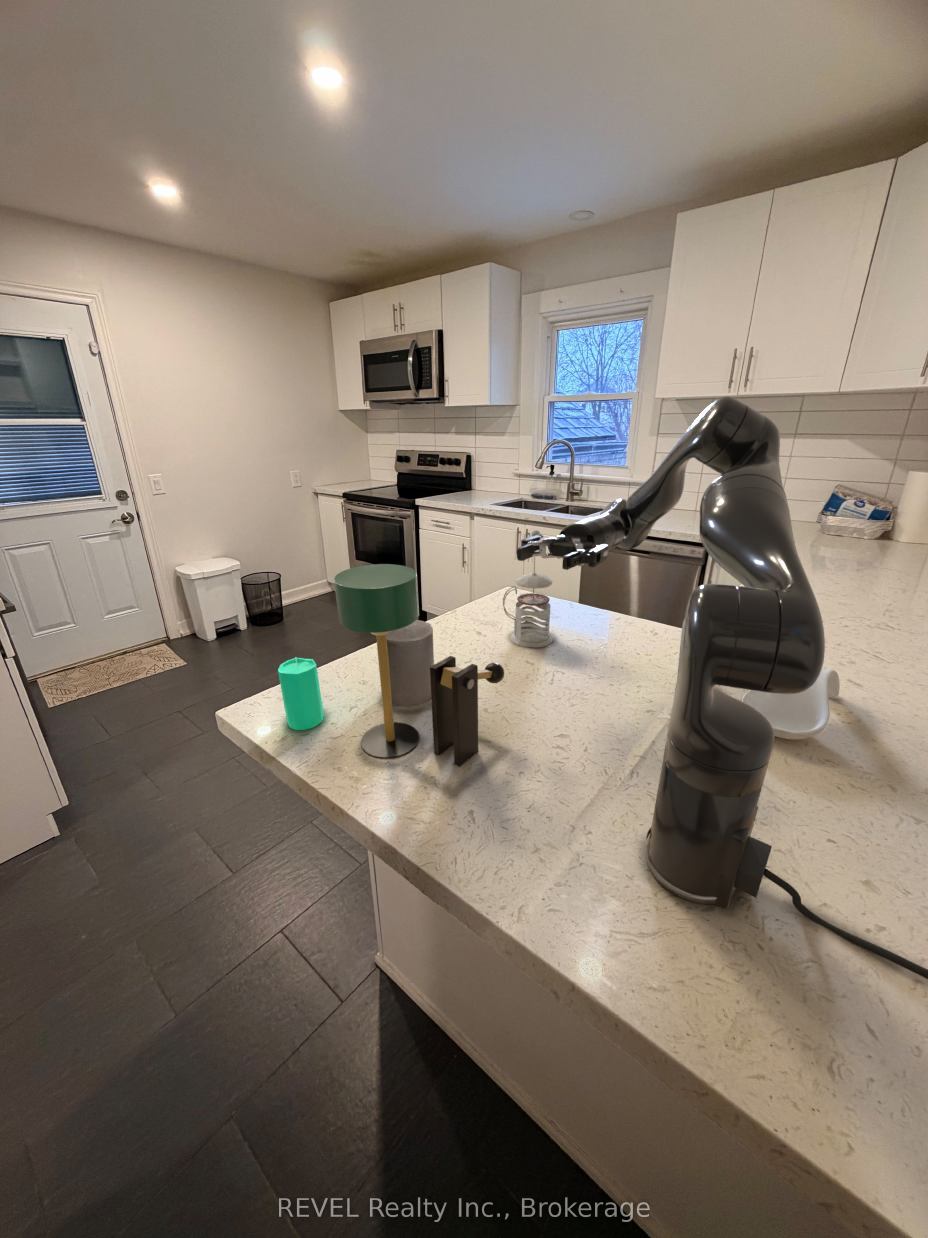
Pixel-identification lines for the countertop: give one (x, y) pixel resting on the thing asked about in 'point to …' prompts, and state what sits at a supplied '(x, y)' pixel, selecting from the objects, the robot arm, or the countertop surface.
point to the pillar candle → (410, 663)
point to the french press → (528, 631)
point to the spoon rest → (797, 707)
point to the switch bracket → (455, 711)
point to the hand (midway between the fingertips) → (541, 559)
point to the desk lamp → (380, 638)
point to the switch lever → (490, 673)
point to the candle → (301, 693)
